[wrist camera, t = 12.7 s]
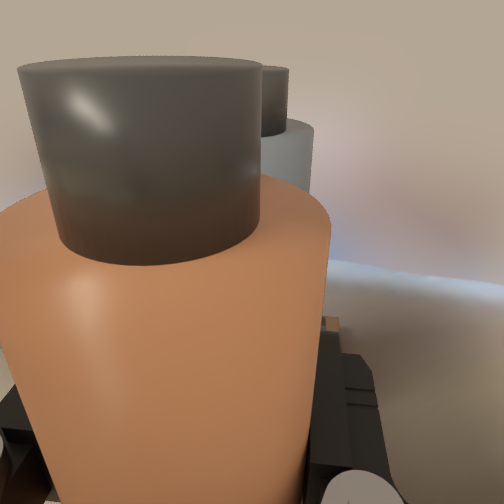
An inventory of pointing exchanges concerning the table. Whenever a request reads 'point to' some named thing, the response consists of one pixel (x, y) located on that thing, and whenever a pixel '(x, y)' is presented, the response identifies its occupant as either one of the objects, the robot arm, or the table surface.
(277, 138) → the grey bottle
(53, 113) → the orange bottle
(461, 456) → the table surface
